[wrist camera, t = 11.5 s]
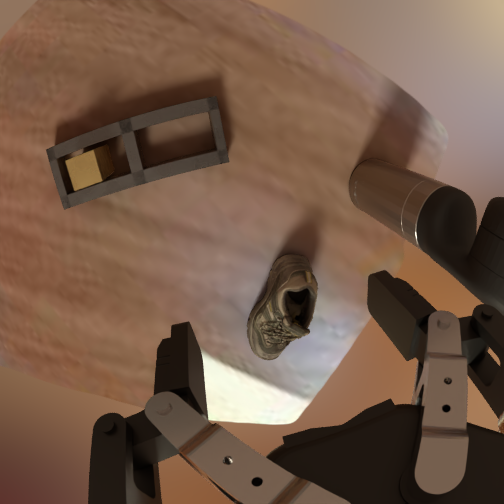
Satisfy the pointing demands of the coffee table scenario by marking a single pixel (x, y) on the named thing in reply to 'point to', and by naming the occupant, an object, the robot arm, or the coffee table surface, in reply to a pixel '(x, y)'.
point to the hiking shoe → (283, 307)
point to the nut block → (90, 167)
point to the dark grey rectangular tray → (137, 152)
